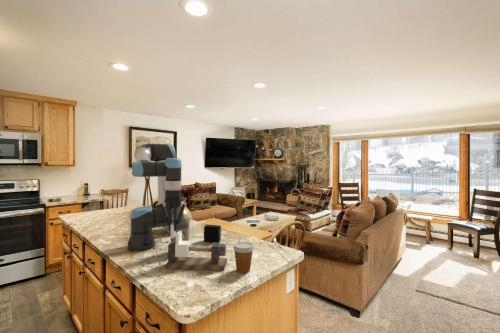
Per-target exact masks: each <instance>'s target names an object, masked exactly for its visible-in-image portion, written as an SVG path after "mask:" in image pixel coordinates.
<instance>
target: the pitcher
mask: <svg viewBox="0 0 500 333" xmlns="http://www.w3.org/2000/svg"><path fill="white" fill-rule="evenodd" d="M183 199H184V202H185V201H186V200H187V199H188V197H185V198H183ZM183 215H184V217H185V219H186V220H187V221H188V222H189V224H191V221H192V213H191V211H190V210H189V209H188V208H187V206H186V207H185V208H184V212H183ZM162 228H163V229H164V230H166V233H168V234H171V231H169V227H162Z"/></svg>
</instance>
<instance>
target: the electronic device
mask: <svg viewBox="0 0 500 333" xmlns="http://www.w3.org/2000/svg"><path fill="white" fill-rule="evenodd" d="M221 229H222V226H221V225H219V224H218V225H217V224H206V225H204V226H203V242H204V243H212V244H213V243H214V242H215V243H220V241H222V230H221Z"/></svg>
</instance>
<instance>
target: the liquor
mask: <svg viewBox="0 0 500 333" xmlns="http://www.w3.org/2000/svg"><path fill="white" fill-rule="evenodd" d="M181 199H182V202H183V203H185V201H184V199H185V198H181ZM180 209H181V204H180V206H179V207H178V217H179V213H180ZM173 223H174V220H173ZM173 223H172V224H173ZM179 231H182V241H190V223H189V222H188V221H187V220H186V219H185V217H184V215H183V217H182V221H181V222H180V223H178V224H177V231H176V233H177V232H179ZM172 241H176V237H174V238H171V237H170V243H171V242H172Z"/></svg>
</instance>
